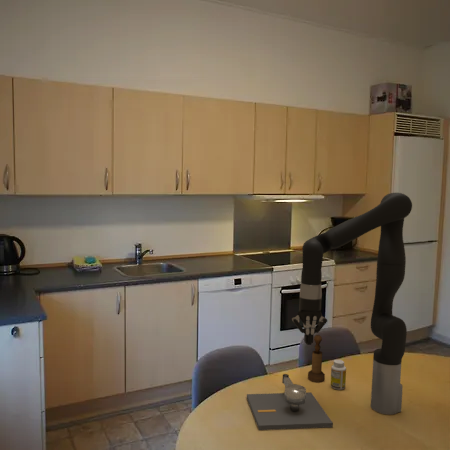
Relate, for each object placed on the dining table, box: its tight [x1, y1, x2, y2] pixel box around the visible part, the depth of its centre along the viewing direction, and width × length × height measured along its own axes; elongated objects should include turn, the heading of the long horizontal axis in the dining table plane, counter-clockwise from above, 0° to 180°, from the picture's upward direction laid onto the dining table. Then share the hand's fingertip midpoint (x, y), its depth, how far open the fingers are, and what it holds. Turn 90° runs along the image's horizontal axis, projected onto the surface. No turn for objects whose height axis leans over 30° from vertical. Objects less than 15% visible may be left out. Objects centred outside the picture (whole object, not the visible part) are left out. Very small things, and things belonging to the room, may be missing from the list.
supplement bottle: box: [330, 359, 347, 391], centre depth 174 cm, size 6×6×10 cm
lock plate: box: [246, 391, 334, 431], centre depth 153 cm, size 24×22×2 cm
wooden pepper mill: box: [307, 334, 326, 383], centre depth 181 cm, size 7×6×18 cm
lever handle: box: [281, 373, 307, 412], centre depth 156 cm, size 17×7×7 cm, turn 7°
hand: (308, 344), depth 160 cm, fingers closed
